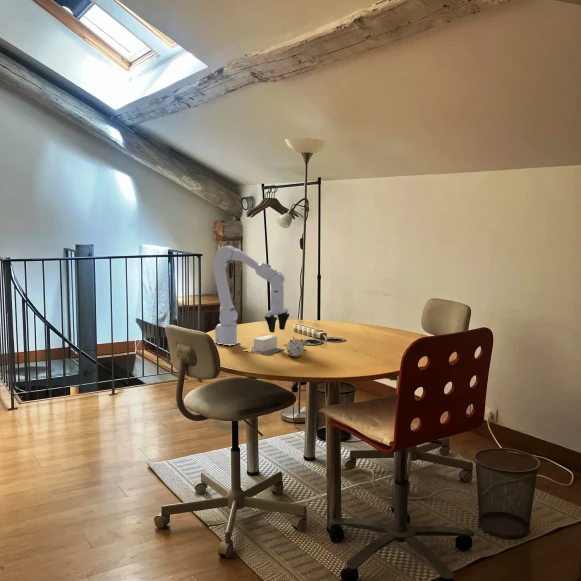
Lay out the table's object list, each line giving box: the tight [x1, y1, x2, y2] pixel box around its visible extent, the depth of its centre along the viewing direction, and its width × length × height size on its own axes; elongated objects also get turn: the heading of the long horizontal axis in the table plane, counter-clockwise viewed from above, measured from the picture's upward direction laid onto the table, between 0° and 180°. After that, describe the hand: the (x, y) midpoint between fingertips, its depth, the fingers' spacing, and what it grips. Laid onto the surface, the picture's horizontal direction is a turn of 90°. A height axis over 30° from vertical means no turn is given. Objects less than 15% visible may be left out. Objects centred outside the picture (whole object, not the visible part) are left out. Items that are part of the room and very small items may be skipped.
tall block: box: [253, 334, 278, 352], centre depth 265 cm, size 5×5×10 cm
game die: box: [284, 336, 308, 360], centre depth 252 cm, size 9×8×10 cm
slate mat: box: [250, 346, 285, 356], centre depth 264 cm, size 14×12×1 cm
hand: (277, 330), depth 272 cm, fingers open, 7 cm apart
